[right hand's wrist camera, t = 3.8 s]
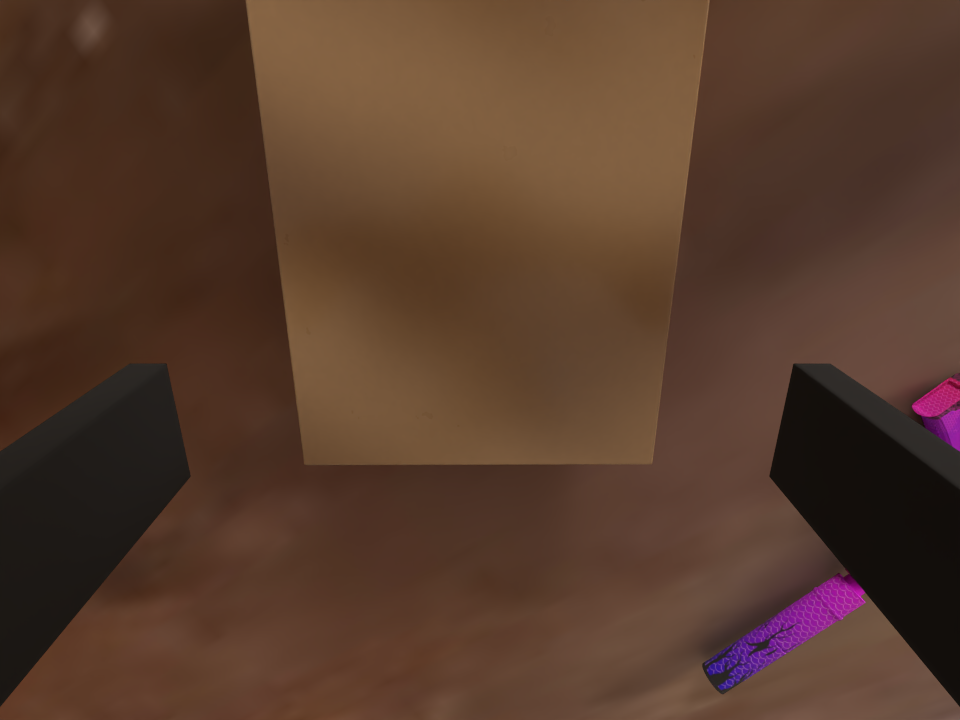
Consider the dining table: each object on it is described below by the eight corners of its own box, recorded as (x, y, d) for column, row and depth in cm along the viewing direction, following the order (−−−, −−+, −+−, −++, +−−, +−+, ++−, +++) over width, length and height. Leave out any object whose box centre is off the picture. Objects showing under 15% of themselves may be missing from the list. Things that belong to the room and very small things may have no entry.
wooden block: (338, 39, 23) (241, -24, 14) (617, 39, 23) (713, -24, 14) (362, 352, 28) (304, 465, 19) (593, 352, 28) (652, 465, 19)
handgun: (957, 366, 29) (989, 381, 27) (1035, 462, 30) (1070, 482, 29) (636, 605, 34) (645, 632, 32) (719, 674, 36) (732, 703, 34)
